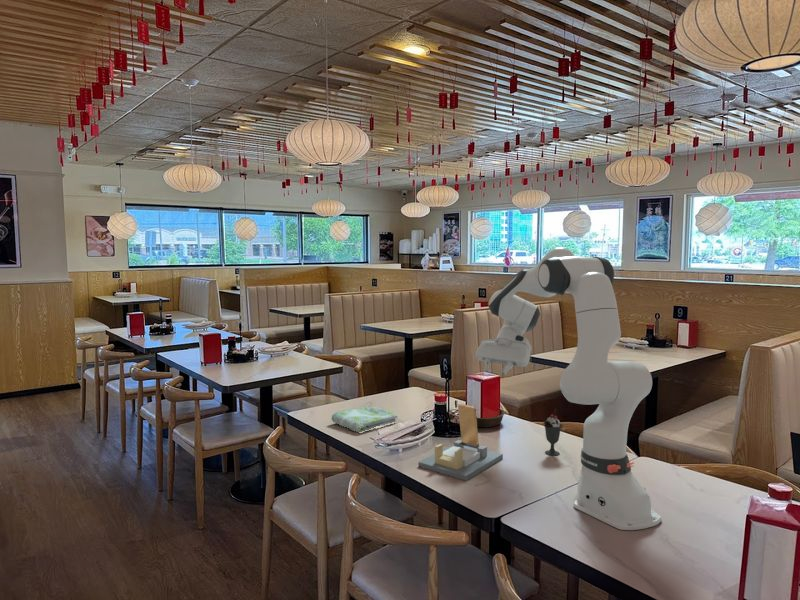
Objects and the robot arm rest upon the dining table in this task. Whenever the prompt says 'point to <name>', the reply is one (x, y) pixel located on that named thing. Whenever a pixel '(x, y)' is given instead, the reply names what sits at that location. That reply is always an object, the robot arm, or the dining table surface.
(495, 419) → the dish
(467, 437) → the wooden plank
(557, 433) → the sundae
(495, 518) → the dining table surface
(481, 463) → the clip base
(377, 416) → the towel
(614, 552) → the dining table surface
